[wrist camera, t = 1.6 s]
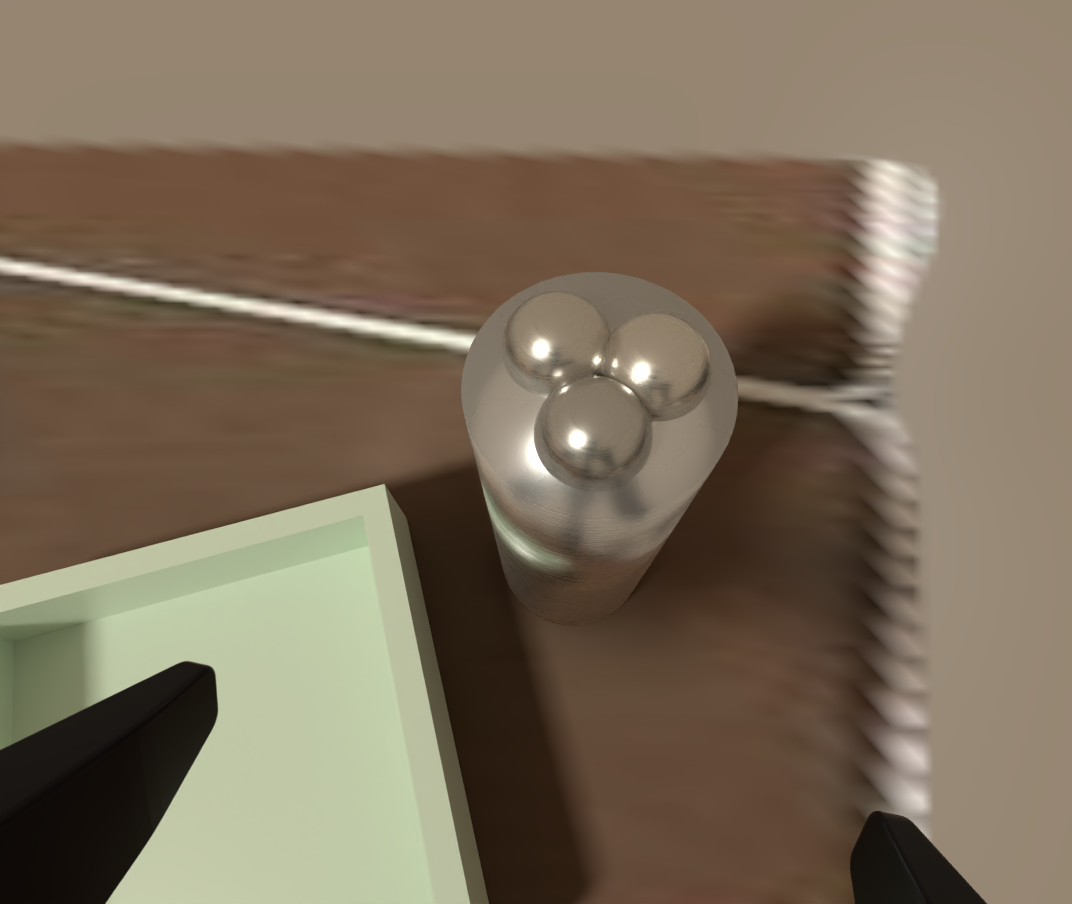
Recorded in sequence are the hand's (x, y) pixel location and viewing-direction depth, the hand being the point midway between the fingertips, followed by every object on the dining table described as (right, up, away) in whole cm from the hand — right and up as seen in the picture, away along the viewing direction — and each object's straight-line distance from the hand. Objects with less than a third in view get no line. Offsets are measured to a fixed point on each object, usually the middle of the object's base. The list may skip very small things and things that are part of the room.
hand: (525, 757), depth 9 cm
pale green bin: (-9, -6, +11) cm, 15 cm away
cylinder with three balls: (+1, +1, +14) cm, 14 cm away
